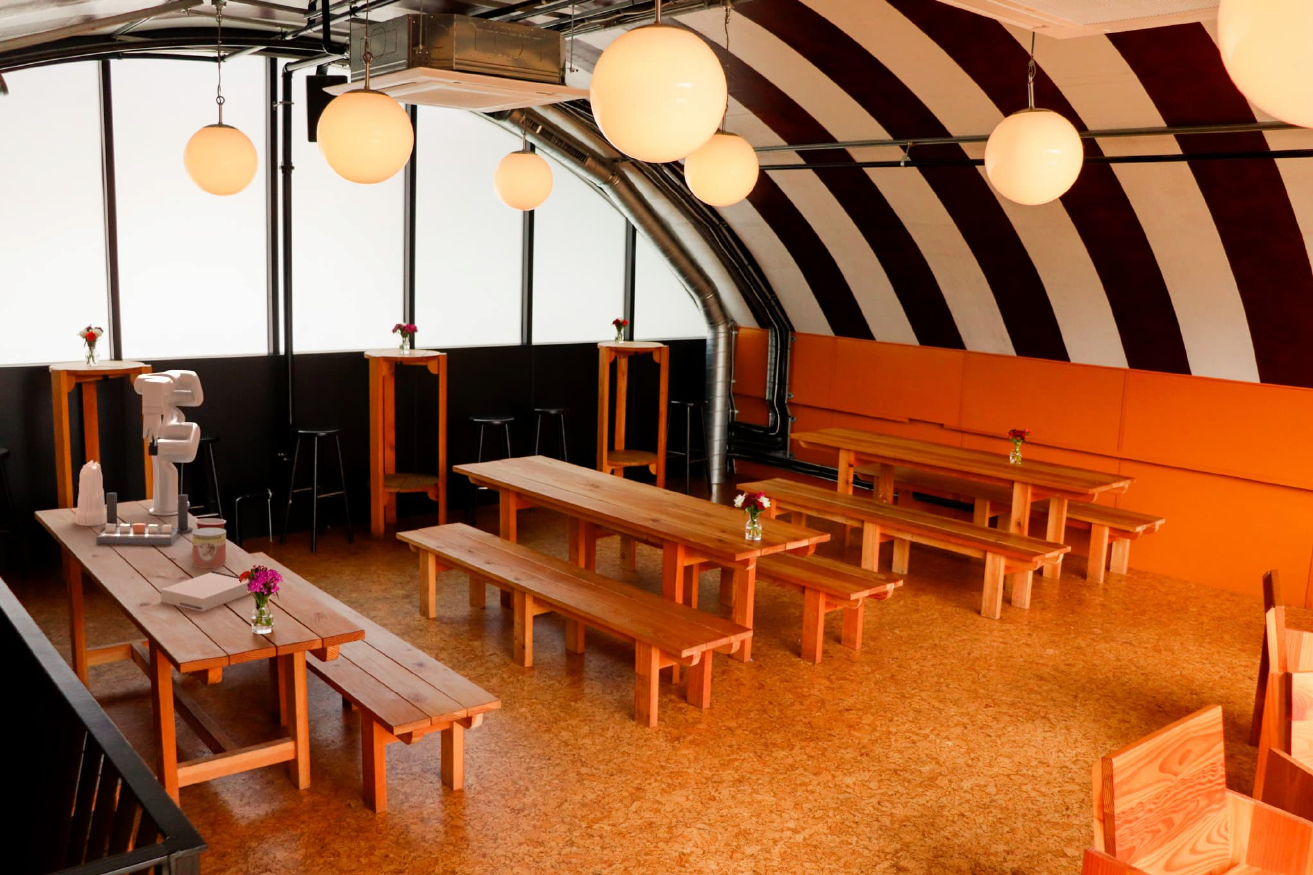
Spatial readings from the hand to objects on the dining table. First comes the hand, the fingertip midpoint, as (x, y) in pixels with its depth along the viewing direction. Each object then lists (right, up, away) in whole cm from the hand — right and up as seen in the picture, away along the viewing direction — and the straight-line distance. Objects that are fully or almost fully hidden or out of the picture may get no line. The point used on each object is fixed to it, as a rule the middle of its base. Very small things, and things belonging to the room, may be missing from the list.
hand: (153, 455), depth 418 cm
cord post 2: (+12, -31, -1) cm, 33 cm away
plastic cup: (+33, -36, -22) cm, 53 cm away
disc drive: (+53, -47, -72) cm, 101 cm away
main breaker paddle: (+3, -30, -17) cm, 34 cm away
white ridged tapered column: (-26, -27, +2) cm, 38 cm away
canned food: (+39, -39, -37) cm, 66 cm away
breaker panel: (+3, -33, -16) cm, 36 cm away
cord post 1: (-13, -30, -7) cm, 33 cm away
